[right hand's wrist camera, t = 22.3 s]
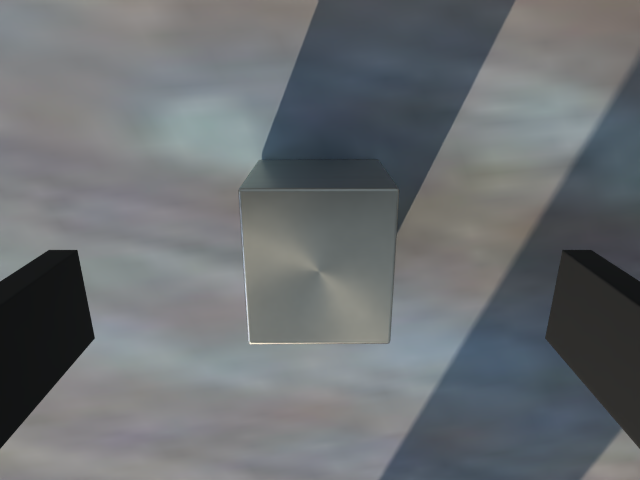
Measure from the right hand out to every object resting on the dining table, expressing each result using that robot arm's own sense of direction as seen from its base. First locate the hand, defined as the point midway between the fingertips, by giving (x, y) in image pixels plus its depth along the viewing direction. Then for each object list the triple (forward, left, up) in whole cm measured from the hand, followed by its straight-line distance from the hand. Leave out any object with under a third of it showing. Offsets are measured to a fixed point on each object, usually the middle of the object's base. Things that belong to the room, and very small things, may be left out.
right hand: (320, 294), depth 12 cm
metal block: (0, 0, -6) cm, 6 cm away
